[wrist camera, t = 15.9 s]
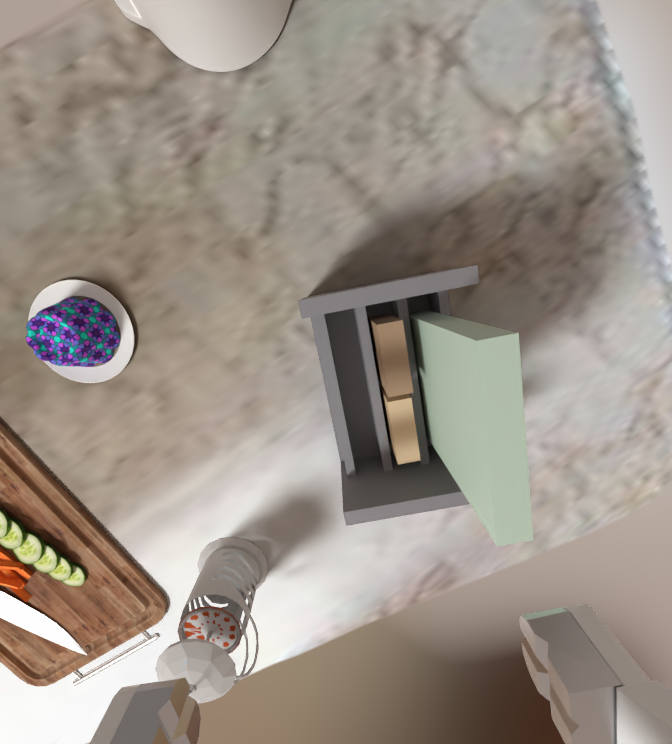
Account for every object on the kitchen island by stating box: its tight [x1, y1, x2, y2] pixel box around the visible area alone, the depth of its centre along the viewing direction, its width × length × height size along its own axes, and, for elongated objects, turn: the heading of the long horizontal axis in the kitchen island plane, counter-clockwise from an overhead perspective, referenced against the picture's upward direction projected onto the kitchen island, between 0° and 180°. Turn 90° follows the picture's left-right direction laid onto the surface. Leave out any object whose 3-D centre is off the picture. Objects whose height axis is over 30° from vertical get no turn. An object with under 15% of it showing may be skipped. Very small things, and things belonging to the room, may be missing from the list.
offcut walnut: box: [368, 313, 413, 397], centre depth 36 cm, size 7×2×8 cm, turn 11°
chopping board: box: [0, 423, 167, 686], centre depth 47 cm, size 45×27×3 cm, turn 33°
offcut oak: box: [379, 384, 421, 465], centre depth 39 cm, size 7×2×6 cm, turn 11°
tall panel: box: [409, 310, 533, 546], centre depth 31 cm, size 14×2×20 cm, turn 11°
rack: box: [298, 265, 479, 526], centre depth 37 cm, size 22×15×12 cm
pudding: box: [26, 280, 134, 383], centre depth 39 cm, size 12×12×5 cm
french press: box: [156, 537, 268, 703], centre depth 37 cm, size 10×12×25 cm
